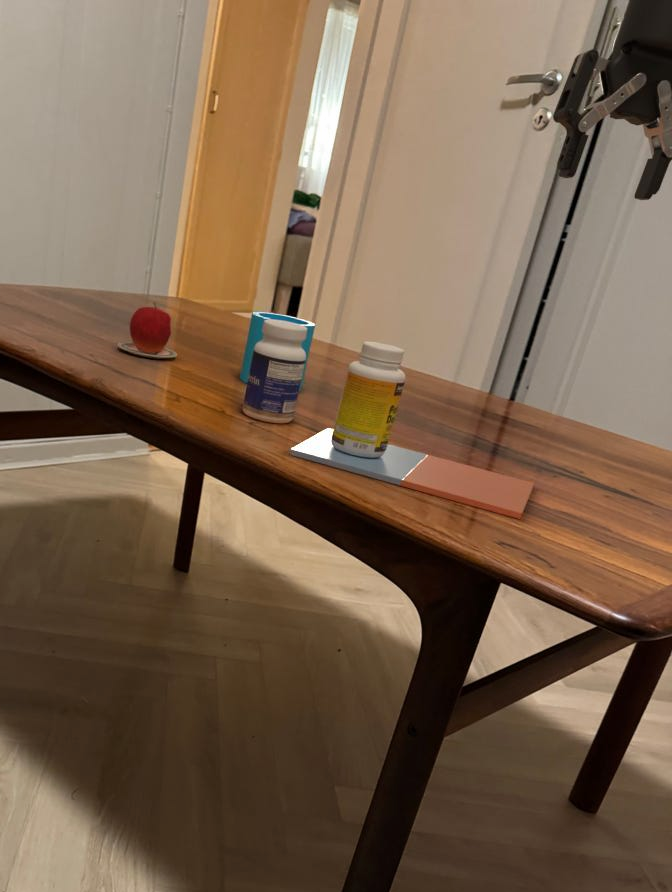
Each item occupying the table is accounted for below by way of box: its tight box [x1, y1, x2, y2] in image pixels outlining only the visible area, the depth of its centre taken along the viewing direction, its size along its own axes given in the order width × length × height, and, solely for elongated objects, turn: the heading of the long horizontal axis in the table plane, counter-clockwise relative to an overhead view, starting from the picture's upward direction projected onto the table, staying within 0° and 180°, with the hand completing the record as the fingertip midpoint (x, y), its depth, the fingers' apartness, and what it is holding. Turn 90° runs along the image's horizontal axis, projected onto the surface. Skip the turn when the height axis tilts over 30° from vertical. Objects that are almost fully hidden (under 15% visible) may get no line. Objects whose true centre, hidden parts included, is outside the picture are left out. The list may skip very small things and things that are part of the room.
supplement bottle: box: [331, 341, 406, 458], centre depth 88 cm, size 6×6×10 cm
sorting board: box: [289, 427, 535, 520], centre depth 89 cm, size 22×13×1 cm, turn 66°
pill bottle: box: [242, 319, 307, 424], centre depth 97 cm, size 6×6×10 cm
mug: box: [239, 311, 316, 392], centre depth 117 cm, size 12×8×8 cm
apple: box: [117, 301, 178, 360], centre depth 121 cm, size 8×8×6 cm
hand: (604, 188), depth 90 cm, fingers open, 8 cm apart
